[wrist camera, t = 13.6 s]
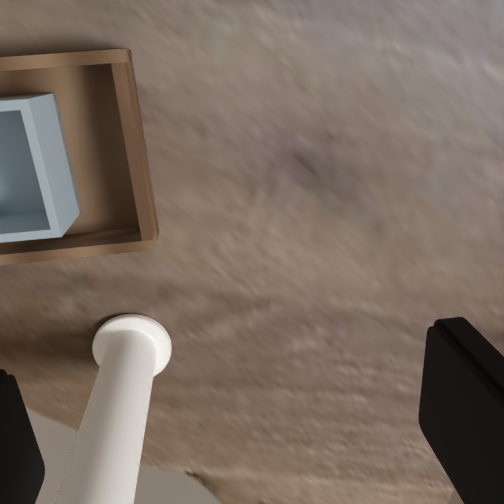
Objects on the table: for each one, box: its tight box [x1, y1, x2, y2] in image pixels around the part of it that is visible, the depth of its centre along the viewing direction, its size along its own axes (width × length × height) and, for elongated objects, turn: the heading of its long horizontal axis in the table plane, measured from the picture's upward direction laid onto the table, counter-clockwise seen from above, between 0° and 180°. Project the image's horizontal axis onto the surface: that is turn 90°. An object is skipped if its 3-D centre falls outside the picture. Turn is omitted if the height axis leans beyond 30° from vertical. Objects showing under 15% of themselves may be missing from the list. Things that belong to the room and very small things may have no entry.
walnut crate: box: [0, 49, 159, 265], centre depth 33 cm, size 18×14×4 cm
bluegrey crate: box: [0, 93, 81, 243], centre depth 32 cm, size 6×9×6 cm
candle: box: [55, 314, 171, 504], centre depth 31 cm, size 7×7×25 cm
